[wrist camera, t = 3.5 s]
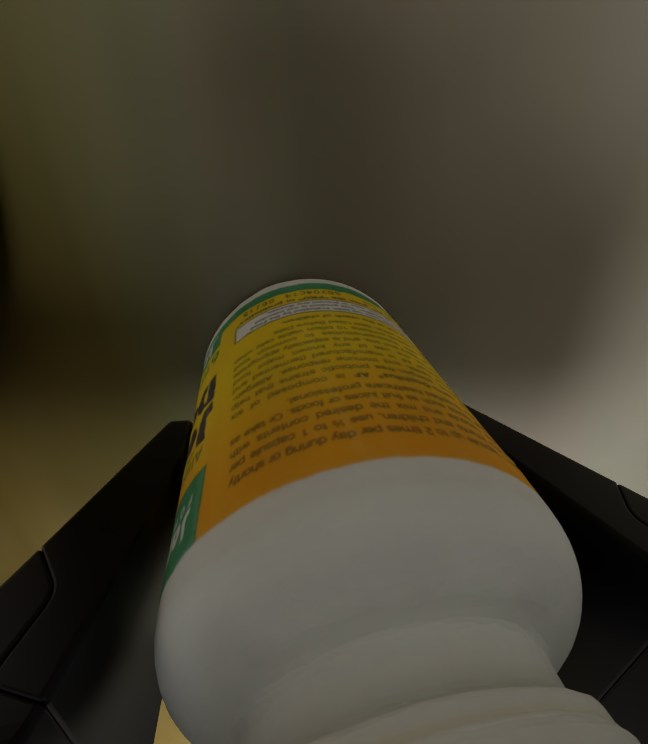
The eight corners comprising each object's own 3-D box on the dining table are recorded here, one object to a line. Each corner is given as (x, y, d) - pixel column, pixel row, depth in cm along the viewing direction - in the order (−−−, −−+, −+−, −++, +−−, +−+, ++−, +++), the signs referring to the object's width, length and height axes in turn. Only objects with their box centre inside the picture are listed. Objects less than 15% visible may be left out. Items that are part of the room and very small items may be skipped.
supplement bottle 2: (398, 428, 13) (681, 973, 4) (226, 458, 12) (189, 1144, 4) (404, 257, 10) (1206, 887, 2) (179, 286, 9) (-329, 1481, 1)
